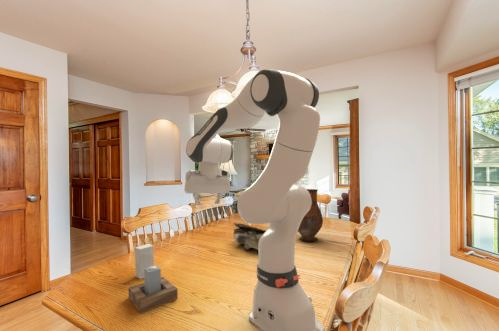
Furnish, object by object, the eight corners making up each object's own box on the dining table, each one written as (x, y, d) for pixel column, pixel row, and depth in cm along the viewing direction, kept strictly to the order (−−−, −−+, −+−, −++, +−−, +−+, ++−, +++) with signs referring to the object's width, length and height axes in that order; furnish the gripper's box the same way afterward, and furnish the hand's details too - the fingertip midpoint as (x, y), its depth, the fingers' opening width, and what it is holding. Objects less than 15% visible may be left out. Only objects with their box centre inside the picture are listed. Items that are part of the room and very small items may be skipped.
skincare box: (148, 271, 106) (148, 243, 105) (154, 274, 103) (153, 245, 103) (134, 276, 101) (134, 247, 101) (139, 279, 98) (139, 249, 98)
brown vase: (328, 240, 146) (328, 189, 146) (305, 248, 133) (305, 192, 133) (306, 233, 159) (306, 187, 159) (282, 240, 146) (282, 189, 146)
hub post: (160, 295, 84) (160, 267, 84) (148, 299, 82) (148, 271, 82) (156, 290, 87) (156, 264, 87) (144, 294, 85) (144, 267, 85)
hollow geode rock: (235, 250, 144) (219, 234, 137) (246, 231, 151) (232, 216, 144) (270, 262, 124) (255, 245, 117) (282, 240, 130) (268, 223, 123)
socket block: (177, 298, 84) (177, 288, 84) (140, 313, 76) (140, 302, 76) (162, 285, 93) (162, 276, 93) (128, 297, 85) (128, 287, 85)
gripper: (189, 170, 97) (187, 205, 96) (232, 172, 110) (231, 204, 109) (182, 170, 102) (181, 204, 101) (224, 172, 115) (223, 203, 114)
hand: (207, 204), depth 105 cm, fingers open, 8 cm apart
